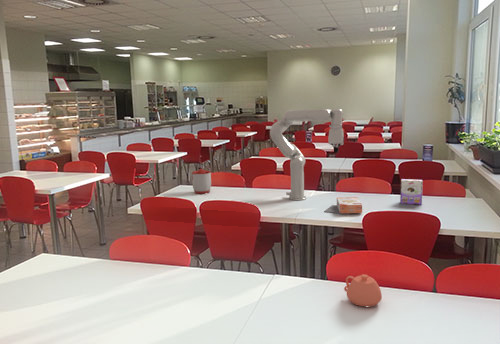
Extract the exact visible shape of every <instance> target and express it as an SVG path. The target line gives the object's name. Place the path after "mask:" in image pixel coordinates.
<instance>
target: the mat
mask: <svg viewBox="0 0 500 344" xmlns="http://www.w3.org/2000/svg"><path fill="white" fill-rule="evenodd" d="M323 212H324V213H330V214H331V213H332V214H341V215H350V214H351V213H340V212H339V210H338V207H337V204H332V205H331V206H329V207H328V208H326V209H325V210H324V211H323Z"/></svg>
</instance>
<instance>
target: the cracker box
mask: <svg viewBox="0 0 500 344" xmlns="http://www.w3.org/2000/svg"><path fill="white" fill-rule="evenodd" d="M336 205H337V207H338V210H339V212H340V213H350V214H362V213H363V203H362V202H361V201H360V200H359V198H358V197H336Z"/></svg>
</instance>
